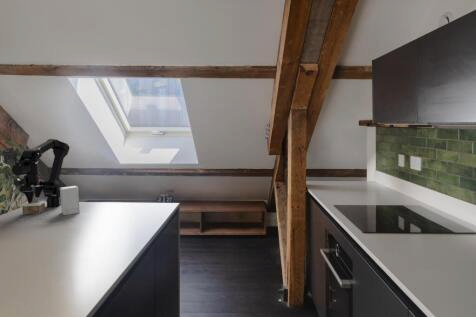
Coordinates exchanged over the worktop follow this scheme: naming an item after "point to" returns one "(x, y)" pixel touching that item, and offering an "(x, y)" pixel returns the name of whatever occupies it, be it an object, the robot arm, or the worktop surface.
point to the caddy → (33, 209)
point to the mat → (36, 216)
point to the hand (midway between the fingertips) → (33, 201)
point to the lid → (34, 202)
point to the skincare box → (69, 200)
